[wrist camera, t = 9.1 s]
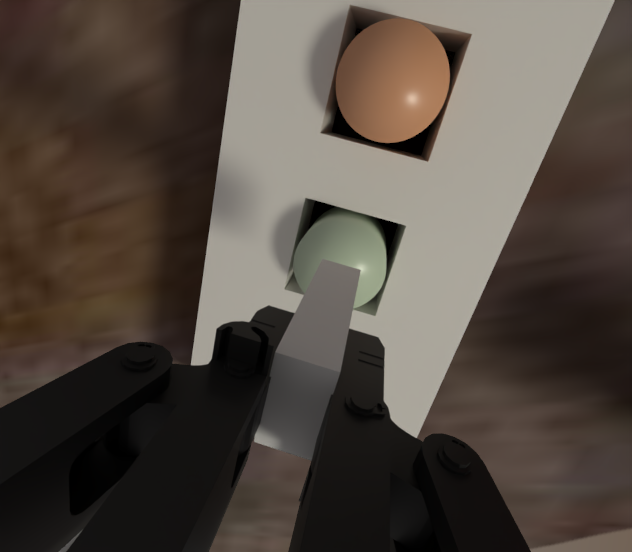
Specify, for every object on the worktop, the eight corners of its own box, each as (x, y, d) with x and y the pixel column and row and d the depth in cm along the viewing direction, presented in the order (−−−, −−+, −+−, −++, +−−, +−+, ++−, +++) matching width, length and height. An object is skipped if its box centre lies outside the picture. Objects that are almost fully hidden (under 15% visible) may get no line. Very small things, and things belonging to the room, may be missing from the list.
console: (280, -54, 19) (254, -98, 15) (572, 15, 18) (621, -15, 14) (210, 376, 29) (184, 413, 25) (394, 435, 28) (396, 482, 24)
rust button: (359, 30, 18) (352, 5, 15) (450, 53, 18) (467, 33, 14) (335, 128, 20) (324, 127, 16) (419, 149, 20) (426, 155, 16)
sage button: (318, 196, 21) (304, 210, 18) (396, 217, 21) (398, 236, 17) (301, 268, 23) (284, 295, 19) (373, 289, 23) (370, 320, 19)
